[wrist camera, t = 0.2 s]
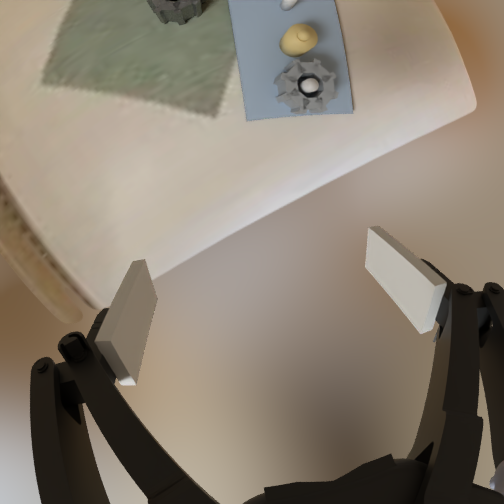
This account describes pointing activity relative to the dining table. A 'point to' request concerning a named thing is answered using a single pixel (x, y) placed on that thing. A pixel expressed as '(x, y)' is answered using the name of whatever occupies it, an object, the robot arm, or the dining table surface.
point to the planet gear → (176, 9)
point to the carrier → (290, 58)
